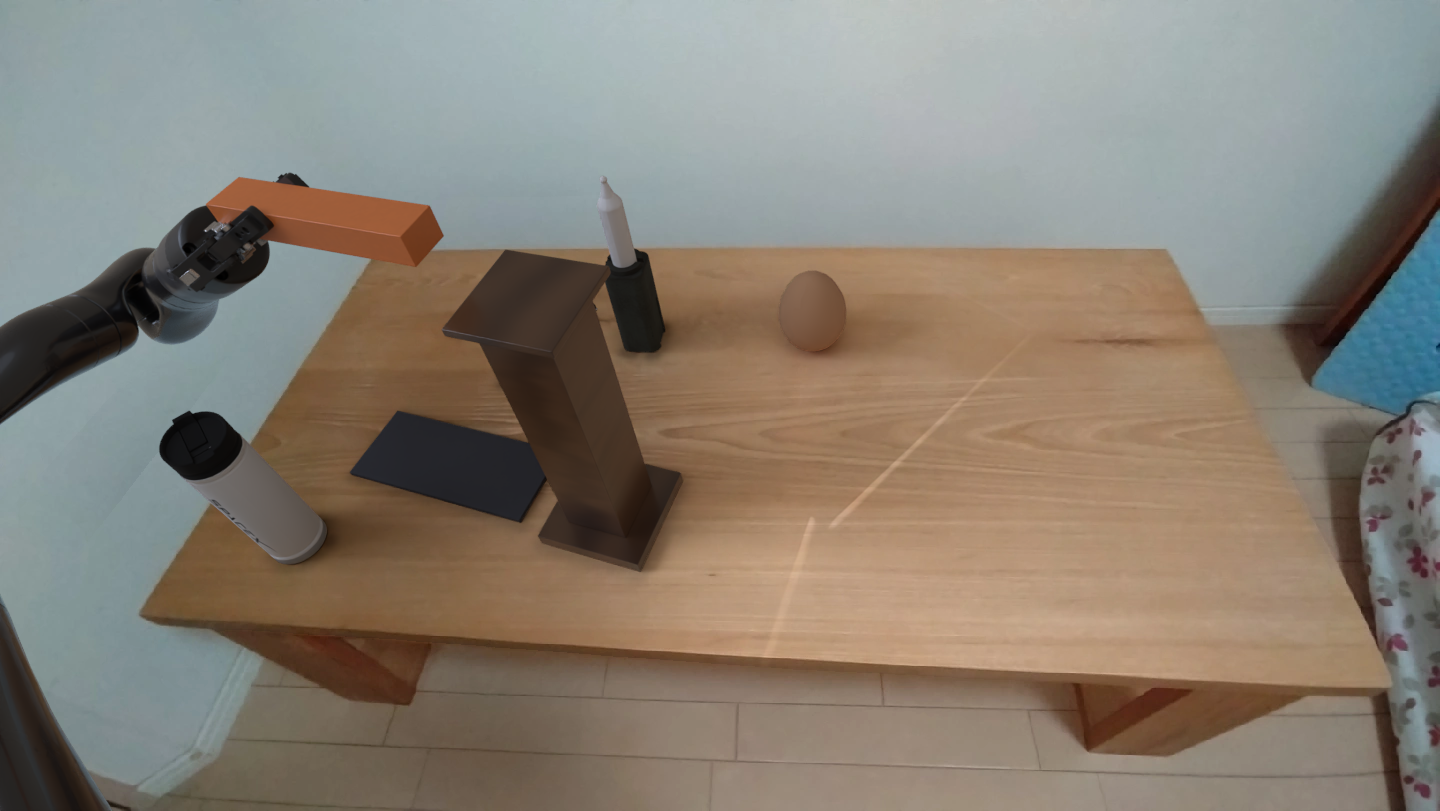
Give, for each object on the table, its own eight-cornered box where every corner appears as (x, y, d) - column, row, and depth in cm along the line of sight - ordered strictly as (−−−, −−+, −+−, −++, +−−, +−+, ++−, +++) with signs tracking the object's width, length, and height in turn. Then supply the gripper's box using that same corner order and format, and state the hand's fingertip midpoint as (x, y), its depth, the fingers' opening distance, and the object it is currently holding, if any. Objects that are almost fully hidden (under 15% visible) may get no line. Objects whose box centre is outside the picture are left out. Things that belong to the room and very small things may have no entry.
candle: (659, 353, 101) (619, 190, 82) (622, 351, 102) (573, 190, 83) (667, 325, 104) (630, 162, 85) (630, 324, 105) (586, 163, 86)
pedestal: (683, 480, 87) (625, 259, 63) (640, 572, 81) (557, 364, 56) (589, 457, 91) (501, 240, 67) (541, 543, 84) (422, 336, 60)
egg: (859, 340, 98) (861, 272, 90) (815, 377, 95) (813, 310, 87) (810, 311, 103) (808, 244, 94) (767, 346, 100) (761, 279, 91)
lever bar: (444, 236, 63) (429, 205, 60) (416, 267, 60) (400, 236, 58) (258, 205, 69) (238, 176, 66) (226, 233, 66) (204, 204, 64)
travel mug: (315, 505, 91) (211, 396, 76) (336, 541, 87) (230, 434, 72) (264, 537, 89) (146, 431, 74) (283, 576, 85) (163, 472, 70)
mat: (562, 453, 92) (560, 450, 92) (520, 523, 86) (519, 520, 86) (399, 413, 99) (397, 410, 99) (351, 475, 93) (349, 472, 93)
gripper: (292, 240, 80) (369, 186, 69) (191, 334, 72) (260, 290, 61) (228, 182, 76) (299, 115, 65) (114, 275, 68) (173, 217, 57)
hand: (280, 200), depth 63 cm, fingers closed on lever bar, 4 cm apart
